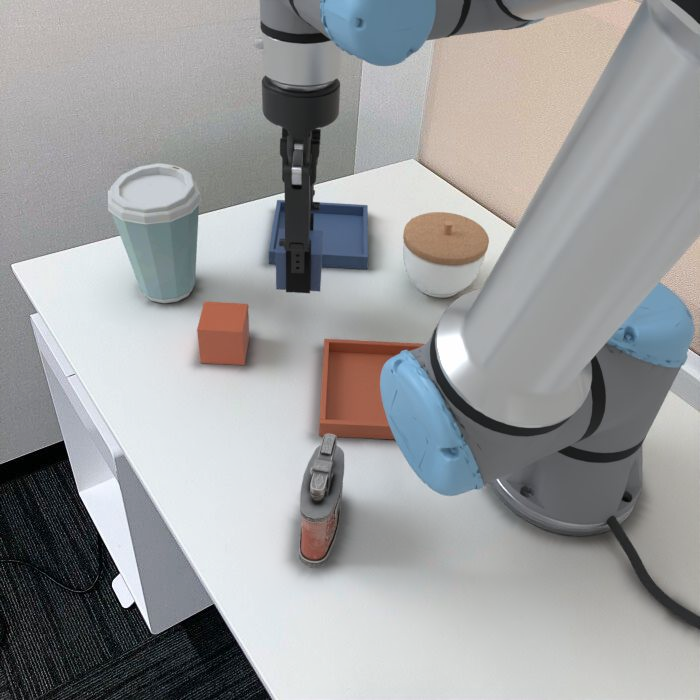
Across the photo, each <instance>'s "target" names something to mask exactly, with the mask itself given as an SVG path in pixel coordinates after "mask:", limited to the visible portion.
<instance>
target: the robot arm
mask: <svg viewBox="0 0 700 700" xmlns="http://www.w3.org/2000/svg"><path fill="white" fill-rule="evenodd" d="M616 1H619V0H259V20H260V21H259V22H260V23H259V24H260V37H256V38H255V39H254V42H253V45H254V47H255V48H256V49H258V50H262V52H261V71H262V73H263V75H264V76H263V78H262V79H261V105H262V114H263V116H264V117H265V119H266V120H267V121H269V122H270V123H271V124H273V125H275V126H276V127H277V126H278V127H281V137H280V139H279V155H280V157H281V172H282V173H281V180H282V182H283V183H284V186H283V187H284V200H285V239H280V241H279V246H284V247H285V251H286V290H285V293H295V294H296V293H297V294H311V291H310V283H311V240H310V230H313V229H314V213H310V211H319V206H320V202H321V201H314V197H315V194H316V190H315V184H316V181H317V168H318V167H317V166H318V162H319V157H320V149H321V140H322V139H321V138H322V137H321V136H322V128H325V127H328V126H330V125H332V124H333V123H334V122H335V121H336V120H337V119H338V117H339V115H340V100H341V99H340V98H341V81H340V80H339V77H340V76H341V74H342V68H343V67H342V66H343V65H342V64H343V52H345V53H346V54H348V55H349V56H355V57H356V58H357V59H360V60H363V61H364V62H366V63H368V64H370V65H374V66H376V67H377V66H378V67H391V66H392V67H393V66H396V65H399V64H401V63H403V62H404V61H406V59H408V58H409V57H410V56H412V55H413V54H415V53H416V52H418V51H419V50H420V49H421V48H422V47H423V46H424V44H425V43H426V42H427V41H432V40H439V39H447V38H450V37H454V36H455V37H456V36H462V35H470V34H478V33H485V32H494V31H495V32H496V31H509V30H515V29H522V28H525V27H528V26H529V25H533V24H537V23H539V22H542V21H543V20H545V19H547V18H549V17H554V16H558V15H562V14H567V13H570V12H571V13H572V12H575V11H580V10H584V9H588V8H591V7H592V8H593V7H596V6H600V5H605V4H608V3H609V4H610V3H612V2H616ZM699 238H700V0H642V1H641V2H640V5H639V6H638V8H637V10H636V12H635V14H634V15H633V17H632V19H631V20H630V22H629V24H628V26H627V27H626V29H625V31H624V32H623V35H622V37H621V38H620V40H619V42H618V44H617V45H616V48H615V49H614V51H613V53H612V54H611V56H610V58H609V60H608V61H607V64H606V65H605V67H604V69H603V71H602V73H601V74H600V76H599V78H598V80H597V81H596V83H595V85H594V86H593V88H592V90H591V92H590V94H589V96H588V97H587V99H586V101H585V103H584V104H583V106H582V109H581V110H580V112H579V113H578V116H577V117H576V119H575V121H574V123H573V125H572V126H571V128H570V130H569V131H568V133H567V135H566V137H565V138H564V141H563V142H562V144H561V146H560V148H559V149H558V151H557V153H556V154H555V157H554V159H553V160H552V163H551V164H550V166H549V167H548V169H547V171H546V172H545V175H544V176H543V178H542V180H541V182H540V183H539V185H538V187H537V189H536V190H535V192H534V194H533V196H532V198H531V200H530V201H529V203H528V204H527V206H526V208H525V210H524V212H523V214H522V216H521V217H520V219H519V221H518V223H517V224H516V226H515V229H514V230H513V232H512V233H511V235H510V237H509V239H508V241H506V244H505V246H504V248H503V250H502V251H501V253H500V255H499V257H498V259H497V260H496V261H495V264H494V266H493V268H492V269H491V271H490V273H489V275H487V278H486V280H485V282H484V283H483V285H482V287H481V288H478V289H474V290H472V291H469V292H466V293H465V294H463V295H461V296H459V297H458V298H456V299H455V300H454V301H453V302H452V303H451V304H450V305H449V306H448V307H447V308H446V309H445V311H444V312H443V314H442V315H441V317H440V319H439V321H438V322H437V325H436V327H435V328H434V330H433V332H432V334H431V336H430V338H429V340H428V341H427V342H426V343H423V344H424V345H423V346H421V347H419V348H417V349H414V350H411V351H408V350H403V351H401V352H400V354H398V355H396V356H394V357H392V358H390V359H389V360H388V361H387V362H386V363H385V364H384V366H383V368H382V371H381V376H380V391H381V398H382V403H383V407H384V410H385V413H386V417H387V420H388V423H389V426H390V428H391V431H392V433H393V435H394V438H395V439H394V440H395V442H396V444H397V446H398V448H399V450H400V452H401V454H402V455H403V457H404V459H405V461H406V462H407V464H408V465H409V467H410V468H411V470H412V471H413V472H414V473H415V475H416V476H417V477H418V478H419V480H420V481H422V482H423V483H424V484H425V485H426V486H427V487H428V488H429V489H430V490H432V491H433V492H435V493H437V494H439V495H442V496H446V497H456V496H459V495H462V494H465V493H468V492H471V491H474V490H477V491H479V490H481V489H483V488H484V486H486V485H487V484H490V486H491V488H492V489H493V491H494V492H495V494H496V495H497V496H498V498H499V500H501V501H502V503H503V504H504V505H505V506H507V508H508V509H510V510H511V511H512V512H513V513H514V514H516V515H517V516H519V517H520V518H521V519H523V520H525V521H526V522H528V523H529V524H532V525H534V526H536V527H538V528H541V529H543V530H546V531H549V532H551V533H556V534H559V535H564V536H565V535H566V536H575V537H578V536H579V537H585V536H586V537H587V536H593V535H599V534H604V533H606V532H608V531H611V532H612V534H613V536H614V537H615V539H616V541H617V542H618V543H619V545H620V547H621V548H622V550H623V551H624V553H625V555H626V558H628V560H629V562H630V564H631V566H632V568H633V570H634V572H635V574H636V576H637V578H638V579H639V581H640V582H641V584H642V586H643V587H644V588H645V590H647V592H648V593H649V594H650V595H651V596H652V597H653V598H654V599H655V600H656V601H657V602H658V603H660V604H661V605H662V606H663V607H664V608H666V609H667V610H668V611H669V612H671V613H672V614H674V615H676V616H677V617H679V618H680V619H681V620H684V622H686V623H688V624H690V625H691V626H693V627H695V628H697V629H699V630H700V616H699V615H698V614H696V613H695V612H692V611H691V610H689V609H688V608H686V607H685V606H684V605H682V604H680V603H678V602H677V601H675V600H674V599H673V598H671V597H670V596H669V595H668V594H667V593H665V591H664V590H663V589H662V588H661V587H659V586H658V585H657V584H656V582H655V581H654V579H653V578H652V577H651V576H650V573H648V570H647V569H646V567H645V564H644V563H643V561H642V559H641V557H640V555H639V553H638V552H637V549H636V548H635V547H634V545H633V543H632V541H631V540H630V538H629V537H628V535H627V533H626V531H624V529H623V527H622V525H621V524H622V523H624V522H625V521H626V519H628V517H629V516H630V515H631V513H632V511H633V510H634V508H635V506H636V504H637V502H638V500H639V498H640V495H641V493H642V488H643V444H644V441H645V439H646V437H647V436H648V433H649V432H650V429H651V428H652V426H653V424H654V422H655V419H656V418H657V416H658V414H659V411H660V410H661V408H662V406H663V403H664V402H665V400H666V398H667V396H668V394H669V392H670V390H671V389H672V386H673V384H674V382H675V381H676V379H677V376H678V374H679V372H680V371H681V368H682V366H684V365H685V364H686V362H687V359H688V352H689V349H690V347H691V344H692V342H693V340H694V337H695V329H696V327H695V324H694V319H693V316H692V312H691V311H690V309H689V307H688V306H687V305H686V303H685V302H684V301H683V300H682V299H681V297H679V295H678V294H676V292H674V291H673V290H671V289H670V288H669V287H668V286H666V285H664V284H663V283H661V281H662V280H663V279H664V278H665V276H666V275H667V274H668V273H669V272H670V271H671V269H673V268H674V266H675V265H676V264H678V261H679V260H680V259H681V258H682V257H683V256H684V255H685V254H686V253H687V251H688V250H689V249H691V247H692V246H693V244H695V242H696V241H697V240H698V239H699Z"/></svg>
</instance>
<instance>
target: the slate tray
mask: <svg viewBox="0 0 700 700" xmlns="http://www.w3.org/2000/svg"><path fill="white" fill-rule="evenodd" d="M319 202H320V206H319V211H310V213H314V229H313V230H317V231H323V248H322V268H340V269H342V268H343V269H357V270H358V269H359V270H368V263H369V216H368V215H369V213H368V212H369V211H368V210H369V208H368V206H369V205H368V204H356V203H355V204H354V203H340V202H335V203H334V202H321V201H319ZM279 229H285V199H277V200H276V205H275V211H274V217H273V223H272V229H271V235H270V239H269V240H270V241H269V247H268V265H276V247H277V241H278V235H279Z"/></svg>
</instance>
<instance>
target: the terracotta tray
mask: <svg viewBox="0 0 700 700" xmlns="http://www.w3.org/2000/svg"><path fill="white" fill-rule="evenodd" d="M424 344H425V343H419V342H402V341H401V342H400V341H399V342H398V341H383V340H381V341H380V340H363V339H345V338H344V339H340V338H323V354H322V371H321V375H322V376H321V390H320V404H319V405H320V406H319V407H320V408H319V425H318V437H324V435H325V434H333V435H335V436H336V437H337V438H353V439H354V438H357V439H375V440H376V439H378V440H395V438H394V435H393V433H392V431H391V428H390V426H389V423H388V420H387V417H386V413H385V410H384V407H383V403H382V398H381V391H380V376H381V371H382V368H383V366H384V364H385V363H386V362H387V361H388V360H389V359H390V358H392V357H394V356H396V355H398V354H400V352H401V351H403V350H408V351H411V350H414V349H417V348H419V347H421V346H423V345H424Z"/></svg>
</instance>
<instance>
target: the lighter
mask: <svg viewBox="0 0 700 700" xmlns="http://www.w3.org/2000/svg"><path fill="white" fill-rule="evenodd" d="M337 438H338V437H336V436H335V435H333V434H325V435H324V436H322V440H321V443H320V445H318V446H317V447H316V448H315V450H314V452H313V454H312V455H311V456H310V459H309V461H308V463H307V465H306V468H305V470H304V473H303V477H302V483H301V487H300V498H299V499H300V500H299V501H300V502H299V513H300V516H301V526H300V532H299V540H298V542H299V543H298V559H299V560H300V562H301V563H302V564H303V565H304V566H306V567H309V568H320V567H322V566H324V565H326V563H327V562H328V560H329V558H330V556H331V553H332V551H333V550H334V547H335V544H336V540H337V537H338V535H339V530H340V529H339V528H340V522H341V505H342V504H341V502H342V496H343V486H344V482H343V481H344V476H345V452H344V449H342V448H341V447H340V446H338V445H337V440H338V439H337Z"/></svg>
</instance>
